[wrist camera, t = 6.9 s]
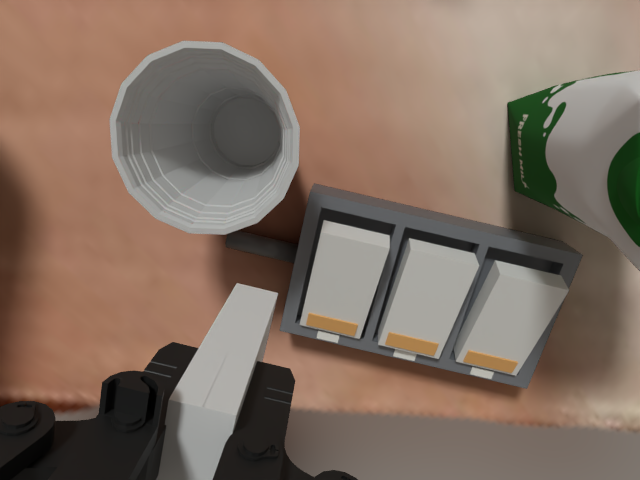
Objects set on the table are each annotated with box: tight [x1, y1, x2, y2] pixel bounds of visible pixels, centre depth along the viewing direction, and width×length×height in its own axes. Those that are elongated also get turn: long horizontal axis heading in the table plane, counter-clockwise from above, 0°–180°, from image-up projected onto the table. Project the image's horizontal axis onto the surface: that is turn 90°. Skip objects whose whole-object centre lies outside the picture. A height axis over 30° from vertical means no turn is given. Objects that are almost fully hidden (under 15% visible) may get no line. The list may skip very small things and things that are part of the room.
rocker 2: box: [378, 238, 479, 359], centre depth 36 cm, size 5×9×2 cm, turn 167°
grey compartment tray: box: [226, 184, 583, 389], centre depth 38 cm, size 27×12×4 cm, turn 78°
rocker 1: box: [300, 220, 390, 339], centre depth 36 cm, size 5×9×2 cm, turn 167°
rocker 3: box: [453, 260, 569, 376], centre depth 36 cm, size 5×9×2 cm, turn 168°
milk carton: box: [508, 70, 640, 271], centre depth 26 cm, size 9×9×20 cm
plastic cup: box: [110, 41, 300, 235], centre depth 31 cm, size 11×11×12 cm
